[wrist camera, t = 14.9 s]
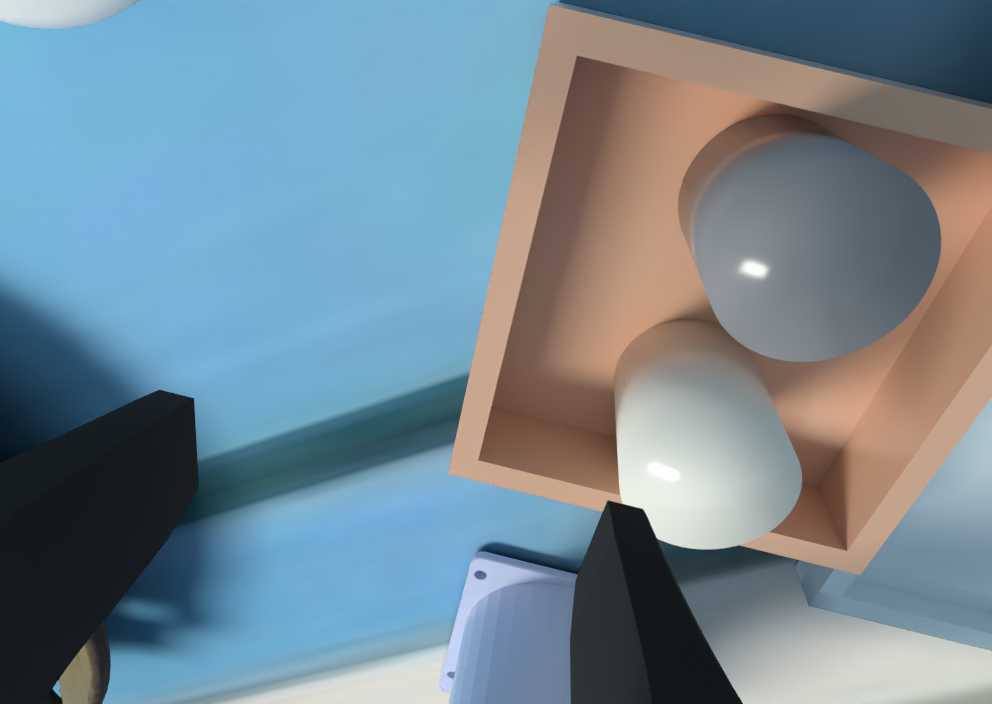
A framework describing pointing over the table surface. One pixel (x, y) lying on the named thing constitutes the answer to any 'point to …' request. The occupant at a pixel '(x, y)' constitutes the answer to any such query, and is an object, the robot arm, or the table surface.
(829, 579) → the parts tray
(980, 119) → the terracotta dish
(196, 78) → the table surface
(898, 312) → the grey plastic cylinder
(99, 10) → the flower in vase
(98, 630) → the dark brown curved bowl
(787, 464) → the pale grey cylinder
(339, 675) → the table surface
